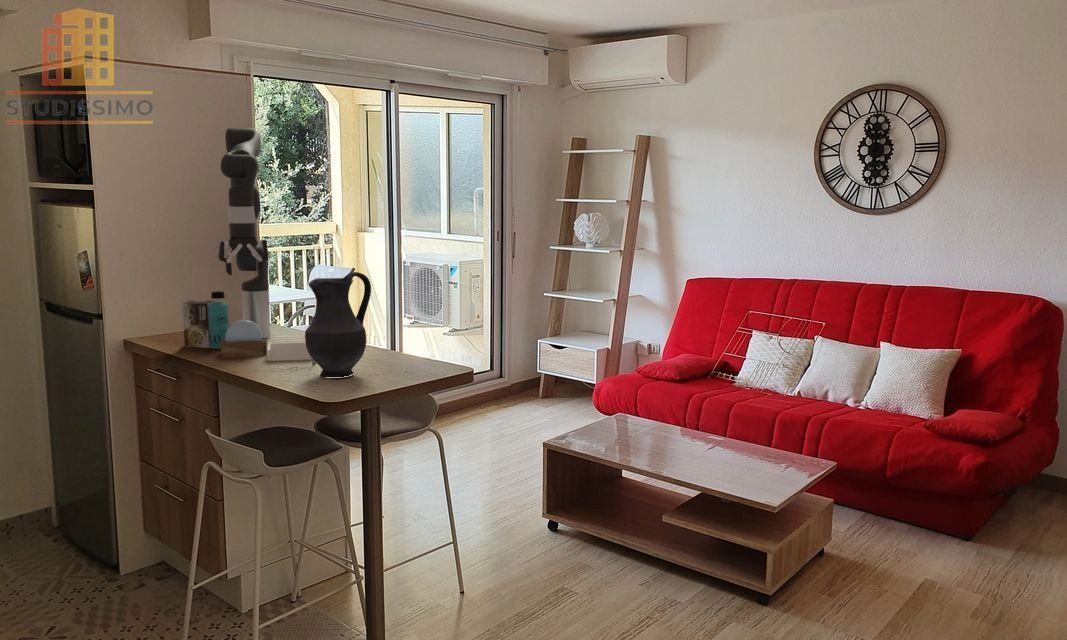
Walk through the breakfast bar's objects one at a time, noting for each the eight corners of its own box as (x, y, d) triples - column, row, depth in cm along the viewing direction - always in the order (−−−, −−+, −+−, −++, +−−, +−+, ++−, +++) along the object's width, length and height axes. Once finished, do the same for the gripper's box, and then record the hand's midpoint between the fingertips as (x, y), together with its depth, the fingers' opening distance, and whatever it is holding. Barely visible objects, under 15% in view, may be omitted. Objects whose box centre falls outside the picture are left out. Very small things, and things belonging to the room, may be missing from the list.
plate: (226, 354, 266) (225, 320, 264) (262, 353, 269) (261, 319, 267) (226, 355, 265) (224, 321, 263) (262, 354, 267) (261, 320, 265)
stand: (223, 356, 268) (222, 339, 267) (267, 355, 271) (267, 338, 271) (221, 360, 262) (220, 342, 262) (266, 358, 266) (265, 341, 265)
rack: (270, 356, 270) (269, 336, 269) (316, 354, 274) (316, 335, 273) (267, 364, 258) (266, 343, 257) (316, 362, 261) (315, 342, 260)
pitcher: (295, 375, 244) (292, 273, 240) (354, 364, 260) (352, 268, 255) (328, 385, 233) (326, 278, 228) (388, 374, 248) (387, 273, 243)
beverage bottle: (205, 351, 275) (202, 291, 272) (221, 348, 281) (218, 289, 277) (219, 354, 272) (216, 293, 269) (235, 350, 278) (232, 291, 274)
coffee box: (219, 347, 282) (217, 300, 280) (209, 351, 276) (207, 303, 273) (193, 346, 283) (191, 299, 281) (183, 350, 277) (181, 302, 274)
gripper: (263, 220, 260) (265, 271, 263) (215, 221, 253) (217, 274, 256) (268, 221, 254) (270, 274, 257) (219, 222, 247) (222, 276, 249)
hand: (244, 274), depth 256 cm, fingers open, 8 cm apart
